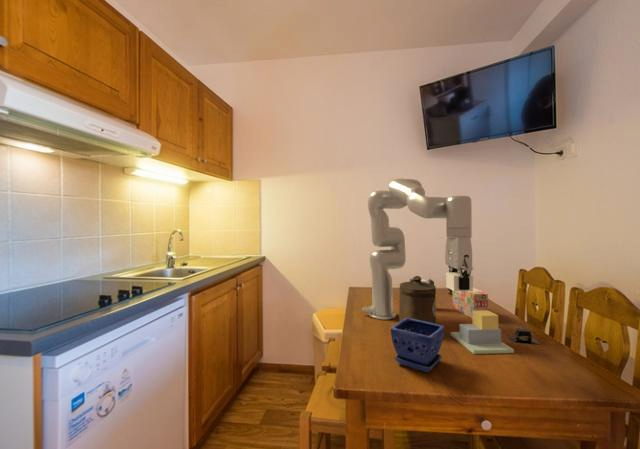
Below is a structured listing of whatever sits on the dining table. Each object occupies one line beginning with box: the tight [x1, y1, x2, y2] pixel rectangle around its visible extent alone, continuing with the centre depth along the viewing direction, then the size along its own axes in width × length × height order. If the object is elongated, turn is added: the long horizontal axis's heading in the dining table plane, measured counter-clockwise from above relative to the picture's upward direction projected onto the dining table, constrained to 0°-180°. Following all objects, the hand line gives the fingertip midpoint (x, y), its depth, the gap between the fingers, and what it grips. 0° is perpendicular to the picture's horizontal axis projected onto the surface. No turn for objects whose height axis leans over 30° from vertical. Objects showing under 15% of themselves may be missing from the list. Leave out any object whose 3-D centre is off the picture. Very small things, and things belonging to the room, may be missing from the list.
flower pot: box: [390, 318, 445, 373], centre depth 91 cm, size 13×13×12 cm
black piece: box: [507, 328, 542, 346], centre depth 107 cm, size 12×7×5 cm, turn 74°
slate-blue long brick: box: [459, 323, 502, 344], centre depth 105 cm, size 12×6×5 cm, turn 92°
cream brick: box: [445, 271, 474, 291], centre depth 95 cm, size 6×6×5 cm
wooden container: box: [398, 275, 437, 335], centre depth 121 cm, size 15×15×22 cm
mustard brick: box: [472, 310, 499, 330], centre depth 105 cm, size 6×6×5 cm
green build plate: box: [450, 331, 515, 355], centre depth 105 cm, size 14×16×1 cm
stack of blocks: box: [451, 287, 489, 320], centre depth 140 cm, size 21×6×12 cm, turn 0°
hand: (459, 286), depth 95 cm, fingers closed on cream brick, 6 cm apart
